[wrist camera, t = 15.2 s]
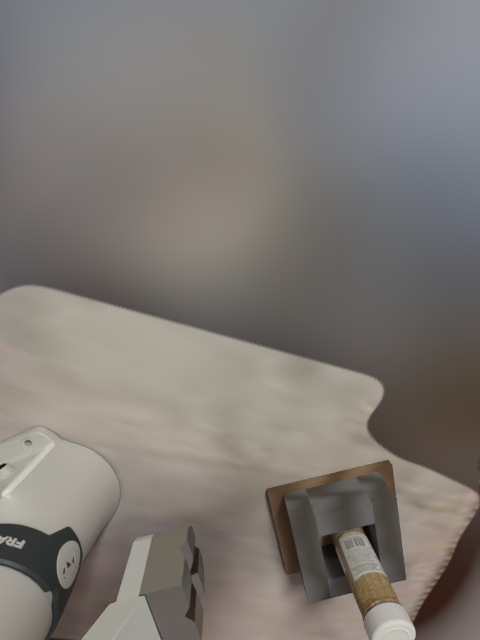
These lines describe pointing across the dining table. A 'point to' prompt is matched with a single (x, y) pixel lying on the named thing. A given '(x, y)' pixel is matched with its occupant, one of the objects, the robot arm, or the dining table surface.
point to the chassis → (337, 525)
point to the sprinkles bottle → (371, 588)
